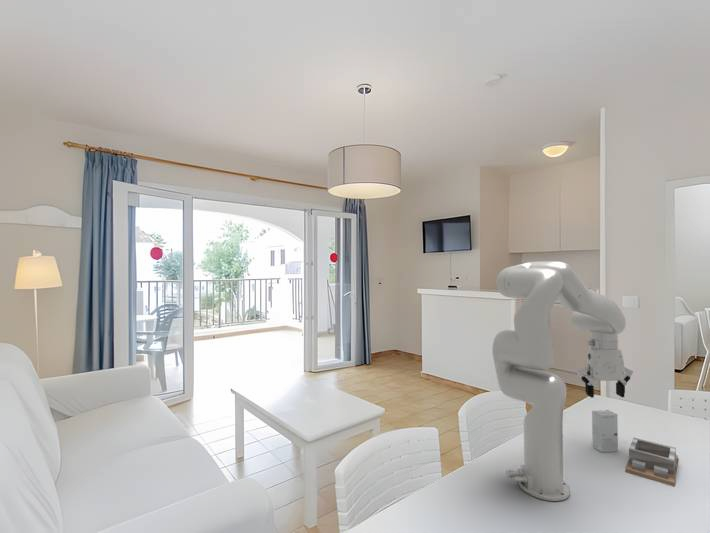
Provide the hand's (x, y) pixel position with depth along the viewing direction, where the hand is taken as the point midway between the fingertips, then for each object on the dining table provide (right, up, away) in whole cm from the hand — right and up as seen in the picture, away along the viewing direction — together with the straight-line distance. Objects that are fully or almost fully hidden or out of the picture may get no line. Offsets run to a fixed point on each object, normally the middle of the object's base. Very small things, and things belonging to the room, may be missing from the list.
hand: (605, 396), depth 125 cm
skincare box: (0, -18, 0) cm, 18 cm away
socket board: (+7, -17, -11) cm, 22 cm away
